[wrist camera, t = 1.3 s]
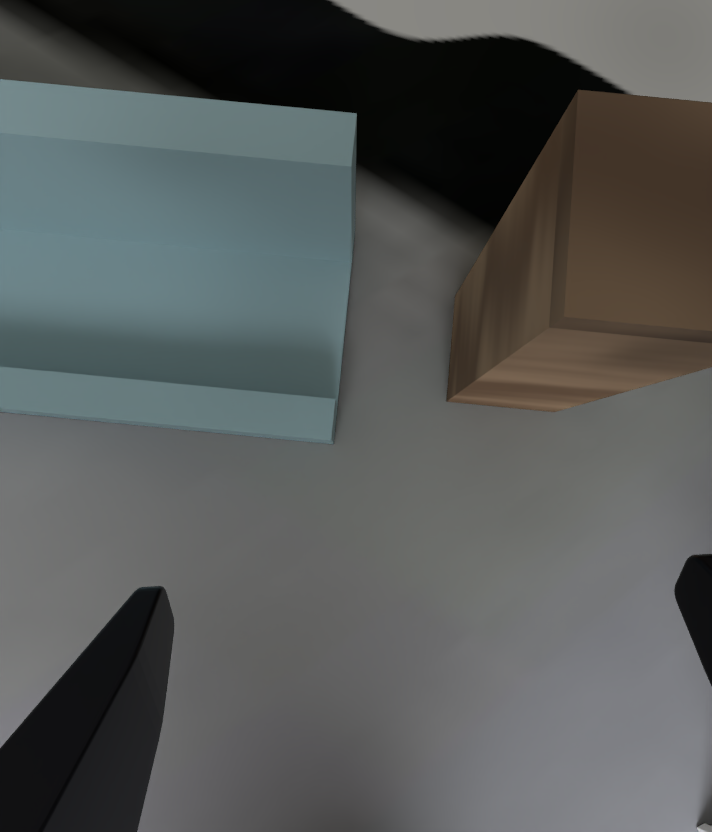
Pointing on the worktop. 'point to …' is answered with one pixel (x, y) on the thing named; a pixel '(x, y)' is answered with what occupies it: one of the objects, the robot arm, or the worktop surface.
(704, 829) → the skyscraper
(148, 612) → the robot arm
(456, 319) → the walnut box
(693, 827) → the worktop surface
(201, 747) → the worktop surface
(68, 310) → the backboard channel
